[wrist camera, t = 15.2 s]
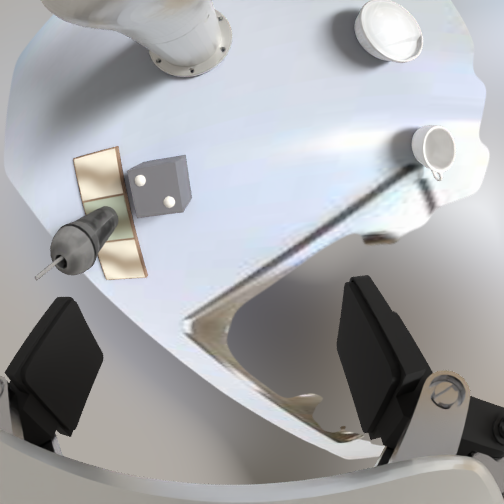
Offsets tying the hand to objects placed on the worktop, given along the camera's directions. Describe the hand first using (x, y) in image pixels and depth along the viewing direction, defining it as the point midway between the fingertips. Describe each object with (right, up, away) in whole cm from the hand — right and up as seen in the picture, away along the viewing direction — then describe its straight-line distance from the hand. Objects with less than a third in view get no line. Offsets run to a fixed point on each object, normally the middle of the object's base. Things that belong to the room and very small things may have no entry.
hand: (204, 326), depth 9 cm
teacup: (+32, +20, +32) cm, 49 cm away
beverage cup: (-23, +8, +35) cm, 43 cm away
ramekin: (+22, +37, +23) cm, 49 cm away
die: (-12, +14, +33) cm, 38 cm away
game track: (-23, +8, +36) cm, 44 cm away
